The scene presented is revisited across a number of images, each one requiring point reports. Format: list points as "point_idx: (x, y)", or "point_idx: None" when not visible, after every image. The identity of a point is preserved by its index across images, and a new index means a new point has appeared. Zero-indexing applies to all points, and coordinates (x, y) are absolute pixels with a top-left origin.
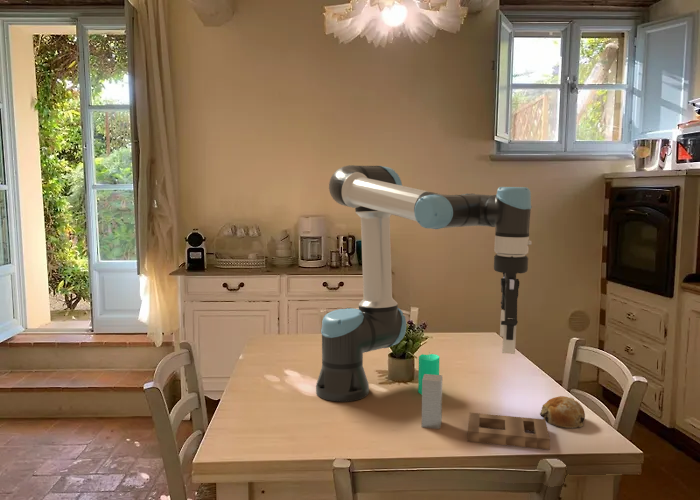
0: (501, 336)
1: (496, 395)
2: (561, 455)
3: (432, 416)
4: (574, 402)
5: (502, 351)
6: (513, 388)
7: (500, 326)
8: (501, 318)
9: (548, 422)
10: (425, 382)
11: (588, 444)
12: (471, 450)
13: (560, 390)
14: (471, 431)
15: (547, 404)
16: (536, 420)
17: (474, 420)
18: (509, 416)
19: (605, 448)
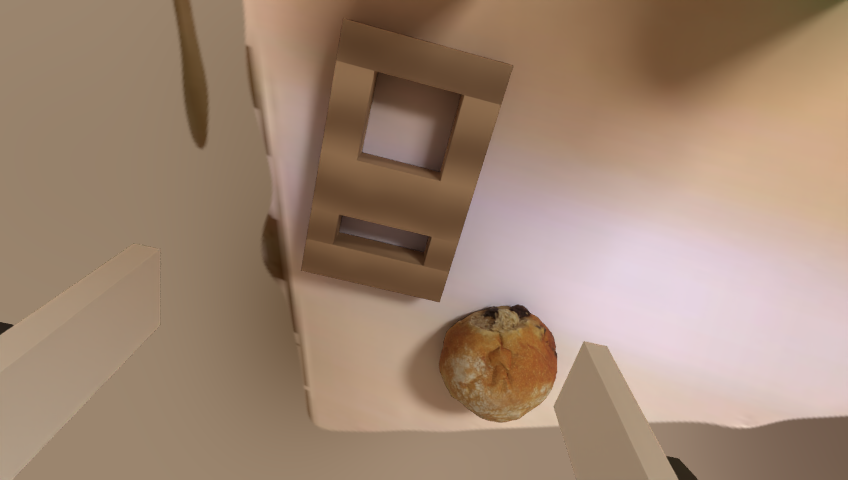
0: (580, 351)
1: (728, 224)
2: (279, 274)
3: None
4: (482, 412)
5: (127, 249)
6: (773, 297)
7: (613, 401)
8: (642, 474)
9: (482, 310)
10: None
11: (348, 355)
12: (282, 18)
13: (712, 416)
14: (341, 32)
15: (510, 341)
16: (432, 276)
17: (437, 68)
18: (467, 204)
19: (328, 381)
